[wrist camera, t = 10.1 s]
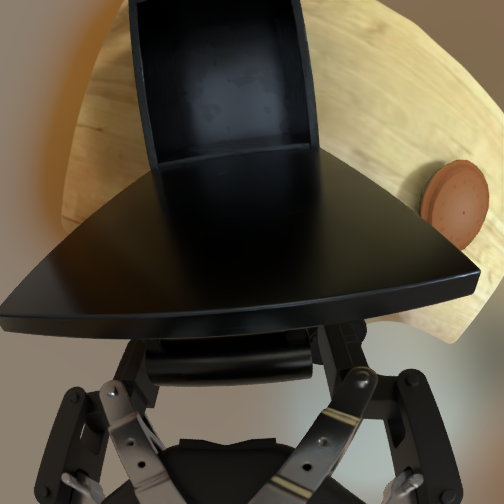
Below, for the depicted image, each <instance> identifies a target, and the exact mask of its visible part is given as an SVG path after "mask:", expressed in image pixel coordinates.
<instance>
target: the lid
mask: <svg viewBox="0 0 504 504" xmlns="http://www.w3.org/2000/svg"><path fill="white" fill-rule="evenodd" d="M480 273H481V270H480V269H479V268H478V267H477V266H476V265H475V264H474V263H473V262H472V261H471V260H470V259H469V258H468V257H467V256H466V255H465V254H464V253H463V252H462V251H460V250H459V249H458V248H457V247H456V246H455V245H454V244H453V243H452V242H450V241H449V240H448V239H447V238H446V237H445V236H444V235H442V234H441V233H440V232H439V231H438V230H436V229H435V228H434V227H433V226H432V225H430V224H429V223H428V222H427V221H426V220H424V219H423V218H422V217H421V216H419V215H418V214H417V213H416V212H414V211H413V210H412V209H410V208H409V207H408V206H407V205H405V204H404V203H403V202H401V201H400V200H399V199H397V198H396V197H394V196H393V195H392V194H390V193H389V192H388V191H386V190H385V189H383V188H382V187H381V186H379V185H378V184H376V183H375V182H373V181H372V180H370V179H369V178H368V177H366V176H365V175H363V174H362V173H360V172H359V171H357V170H355V169H354V168H352V167H351V166H349V165H348V164H346V163H345V162H343V161H341V160H340V159H338V158H337V157H335V156H333V155H332V154H330V153H328V152H327V151H325V150H323V149H322V148H310V149H297V150H285V151H274V152H264V153H255V154H247V155H239V156H232V157H225V158H218V159H211V160H205V161H199V162H193V163H187V164H182V165H177V166H171V167H166V168H161V169H156V170H152V171H149V172H147V173H146V174H144V175H143V176H142V177H140V178H139V179H137V180H136V181H135V182H133V183H132V184H131V185H129V186H128V187H127V188H125V189H124V190H123V191H121V192H120V193H119V194H117V195H116V196H115V197H114V198H112V199H111V200H110V201H108V202H107V203H106V204H105V205H103V206H102V207H101V208H100V209H99V210H97V211H96V212H95V213H94V214H92V215H91V216H90V217H89V218H88V219H87V220H85V221H84V222H83V223H82V224H81V225H80V226H78V227H77V228H76V229H75V230H74V231H73V232H72V233H71V234H69V235H68V236H67V237H66V238H65V239H64V240H63V241H62V242H61V243H60V244H59V245H57V247H55V248H54V249H53V250H52V251H51V252H50V253H49V254H48V255H47V256H46V257H45V258H44V259H43V260H42V261H41V262H40V263H39V264H38V265H37V266H36V267H35V268H34V269H33V270H32V271H31V272H30V273H29V274H28V275H27V276H26V277H25V279H24V280H23V281H22V282H21V283H20V284H19V285H18V286H17V287H16V288H15V289H14V291H13V292H12V293H11V294H10V295H9V296H8V297H7V299H6V300H5V301H4V302H3V303H2V304H1V306H0V326H1V327H2V329H3V330H4V331H7V332H15V333H24V334H33V335H44V336H57V337H72V338H73V337H74V338H93V339H142V340H143V342H144V344H145V346H146V351H145V367H146V372H147V375H148V378H149V380H150V381H151V383H152V384H154V385H155V386H177V387H179V386H181V387H182V386H183V387H207V386H235V385H252V384H265V383H274V382H284V381H293V380H301V379H308V378H311V377H312V372H313V371H312V370H313V364H312V351H311V344H310V338H309V333H308V330H307V328H311V327H318V326H325V325H331V324H338V323H344V322H350V321H356V320H362V319H367V318H373V317H378V316H383V315H388V314H393V313H398V312H403V311H408V310H412V309H417V308H421V307H425V306H429V305H434V304H438V303H442V302H446V301H449V300H453V299H457V298H461V297H464V296H468V295H472V294H473V293H474V291H475V288H476V286H477V283H478V280H479V277H480Z"/></svg>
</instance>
